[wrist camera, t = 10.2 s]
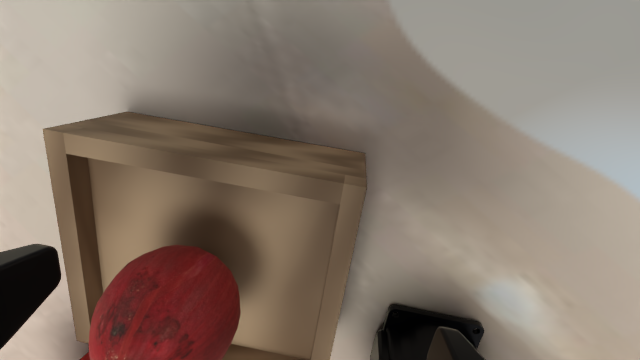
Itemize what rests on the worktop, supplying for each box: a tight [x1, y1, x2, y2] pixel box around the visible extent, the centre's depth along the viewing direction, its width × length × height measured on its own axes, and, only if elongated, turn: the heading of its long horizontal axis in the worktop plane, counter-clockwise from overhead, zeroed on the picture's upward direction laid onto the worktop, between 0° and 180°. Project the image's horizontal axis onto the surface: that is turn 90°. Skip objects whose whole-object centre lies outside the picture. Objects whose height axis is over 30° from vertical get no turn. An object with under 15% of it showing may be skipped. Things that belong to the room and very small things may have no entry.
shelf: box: [43, 112, 367, 360], centre depth 19 cm, size 15×13×6 cm
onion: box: [89, 245, 241, 360], centre depth 14 cm, size 6×6×8 cm
